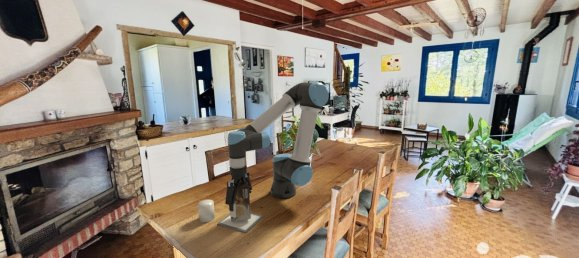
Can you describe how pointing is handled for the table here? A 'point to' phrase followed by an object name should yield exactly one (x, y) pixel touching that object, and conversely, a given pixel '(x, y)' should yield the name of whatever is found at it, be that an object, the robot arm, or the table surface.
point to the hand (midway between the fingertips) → (240, 211)
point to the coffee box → (242, 203)
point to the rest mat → (240, 223)
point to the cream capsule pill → (206, 211)
